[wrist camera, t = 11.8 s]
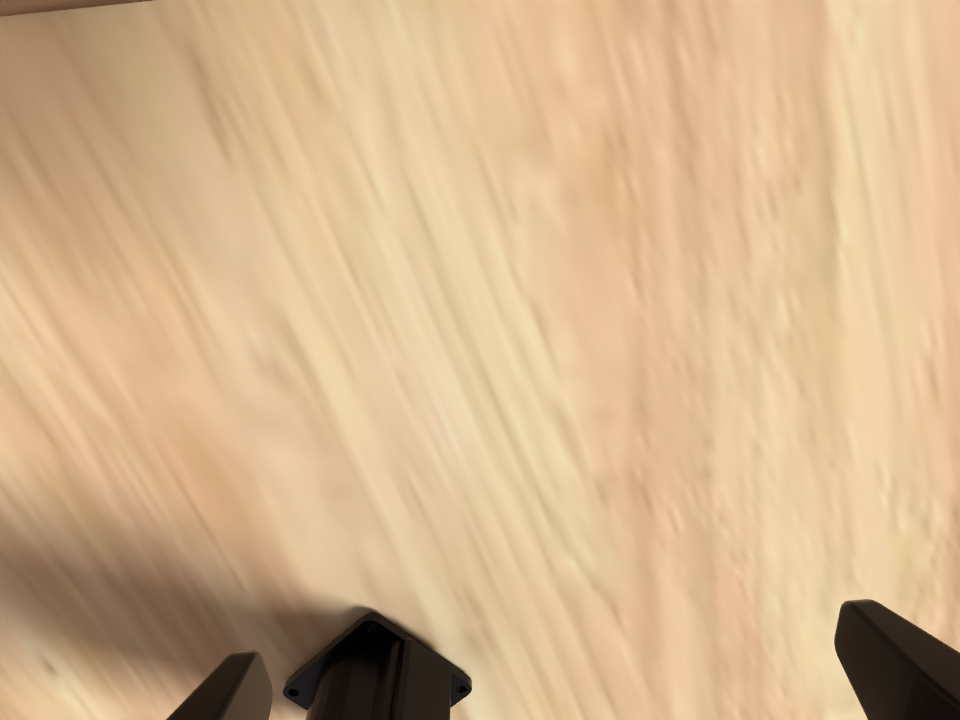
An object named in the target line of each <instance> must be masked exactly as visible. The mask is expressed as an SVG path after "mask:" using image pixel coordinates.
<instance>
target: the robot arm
mask: <svg viewBox="0 0 960 720" xmlns="http://www.w3.org/2000/svg"><path fill="white" fill-rule="evenodd" d="M371 625H375V626H371ZM834 644H835V650H836V653H837V656H838V658H839V660H840V662H841V664H842V666H843V669H844V671H845V673H846V675H847V677H848V679H849V681H850V683H851V685H852V687H853V689H854V691H855V694H856V696H857V698H858V700H859V702H860V704H861V706H862V708H863V710H864V712H865V714H866V716H867V718H868V720H960V652H958V651H956V650H955V649H953V648H951V647H950V646H948V645H947V644H945V643H943V642H942V641H940V640H938V639H937V638H935V637H934V636H932V635H930V634H929V633H927V632H925V631H924V630H922V629H921V628H919V627H917V626H916V625H914V624H912V623H911V622H909V621H908V620H906V619H904V618H903V617H901V616H899V615H898V614H896V613H895V612H893V611H891V610H890V609H888V608H886V607H885V606H883V605H882V604H880V603H878V602H876V601H874V600H870V599H863V600H851V601H846V602H844V603H843V604H842V605H841V608H840V613H839V618H838V623H837V628H836V633H835V639H834ZM471 690H472V680H471V678H470V677H469V676H468V675H466V674H465V673H463V672H462V671H460V670H459V669H458V668H456V667H455V666H453V665H452V664H450V663H449V662H447V661H446V660H444V659H443V658H441V657H440V656H438V655H437V654H436V653H434V652H433V651H431V650H430V649H428V648H427V647H425V646H424V645H422V644H421V643H419V642H418V641H417V640H415V639H414V638H412V637H411V636H409V635H408V634H406V633H405V632H403V631H402V630H400V629H399V628H398V627H396V626H395V625H393V624H392V623H390V622H389V621H387V620H386V619H384V618H383V617H381V616H380V615H378V614H375V613H369V614H366V615H364V616H363V617H362V618H361V619H359V620H358V621H357V622H356V623H355V624H353V625H352V626H351V627H350V628H349V629H347V630H346V631H345V632H344V633H343V634H342V635H340V636H339V637H338V638H337V639H336V640H334V641H333V642H332V643H331V644H330V645H328V646H327V647H326V648H325V649H324V650H322V651H321V652H320V653H319V654H318V655H317V656H315V657H314V658H313V659H312V660H311V661H309V662H308V663H307V664H306V665H305V666H303V667H302V668H301V669H300V670H299V671H297V672H296V673H295V674H294V675H293V676H291V677H290V678H289V679H288V680H287V681H286V683H285V686H284V689H283V694H284V696H285V697H286V698H288V699H289V700H291V701H293V702H294V703H296V704H298V705H299V706H301V707H303V708H304V709H306V710H308V713H307V717H306V720H450V708H451V707H452V706H454V705H455V704H456V703H458V702H459V701H460V700H462V699H463V698H464V697H466V696H467V695H469V694H470V692H471ZM271 704H272V685H271V682H270V679H269V676H268V673H267V670H266V667H265V664H264V661H263V658H262V655H261V653H260V652H258V651H256V650H250V651H238V652H233V653H231V654H230V655H229V656H227V657H226V658H225V659H224V660H223V661H222V662H221V663H220V665H219V666H218V667H217V668H216V669H215V670H214V671H213V672H212V673H211V674H210V675H209V676H208V677H207V678H206V679H205V680H204V681H203V682H202V683H201V684H200V685H199V686H198V687H197V688H196V689H195V690H194V691H193V692H192V693H191V695H190V696H189V697H188V698H187V699H186V700H185V701H184V702H183V703H182V704H181V705H180V706H179V707H178V708H177V709H176V710H175V711H174V712H173V713H172V714H171V715H170V716H169V717H168V718H167V719H166V720H269V715H270V709H271Z"/></svg>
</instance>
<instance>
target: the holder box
mask: <svg viewBox="0 0 960 720" xmlns="http://www.w3.org/2000/svg"><path fill="white" fill-rule="evenodd" d="M142 1H151V0H0V16H9V15H18V14H28V13H37V12H47V11H56V10H66V9H75V8H85V7H94V6H104V5H113V4H123V3H132V2H142Z"/></svg>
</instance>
